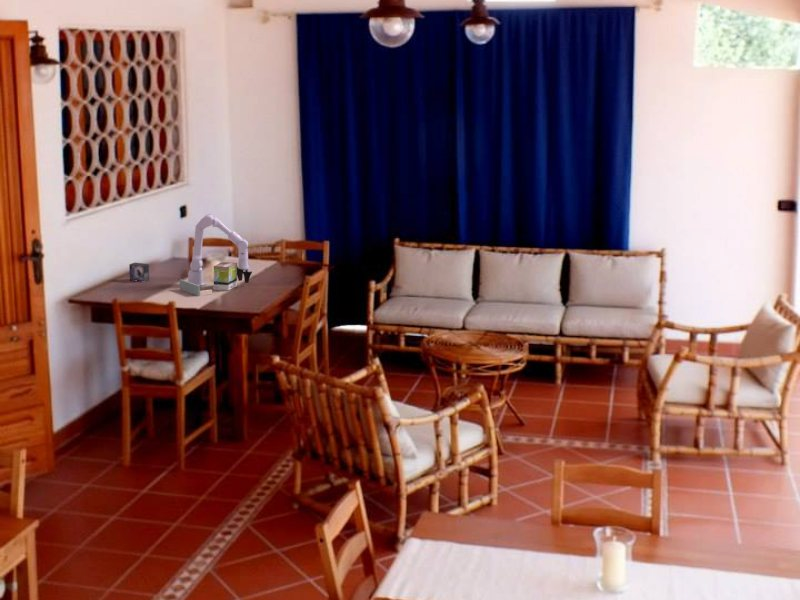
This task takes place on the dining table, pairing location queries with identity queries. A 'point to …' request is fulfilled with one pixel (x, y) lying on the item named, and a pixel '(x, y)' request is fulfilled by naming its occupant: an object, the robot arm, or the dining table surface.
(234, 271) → the tea box
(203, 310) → the dining table surface
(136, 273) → the small box
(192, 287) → the display bay
